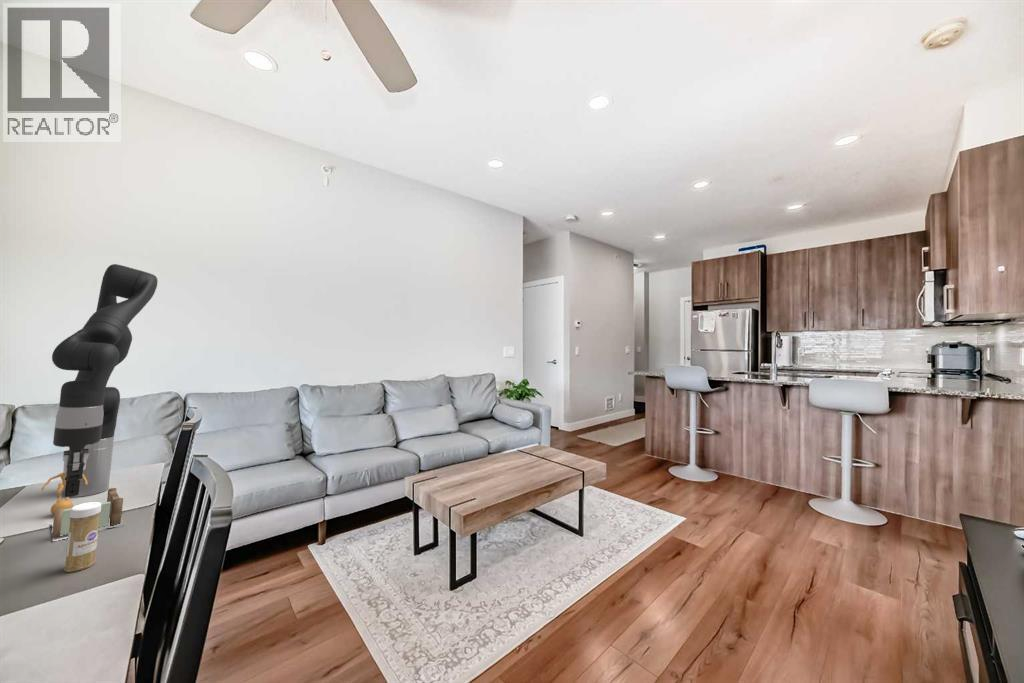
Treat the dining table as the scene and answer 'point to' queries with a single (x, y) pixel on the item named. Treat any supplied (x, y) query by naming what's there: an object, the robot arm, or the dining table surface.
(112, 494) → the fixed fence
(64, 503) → the figurine
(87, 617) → the dining table surface
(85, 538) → the sprinkles bottle
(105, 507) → the swing panel
